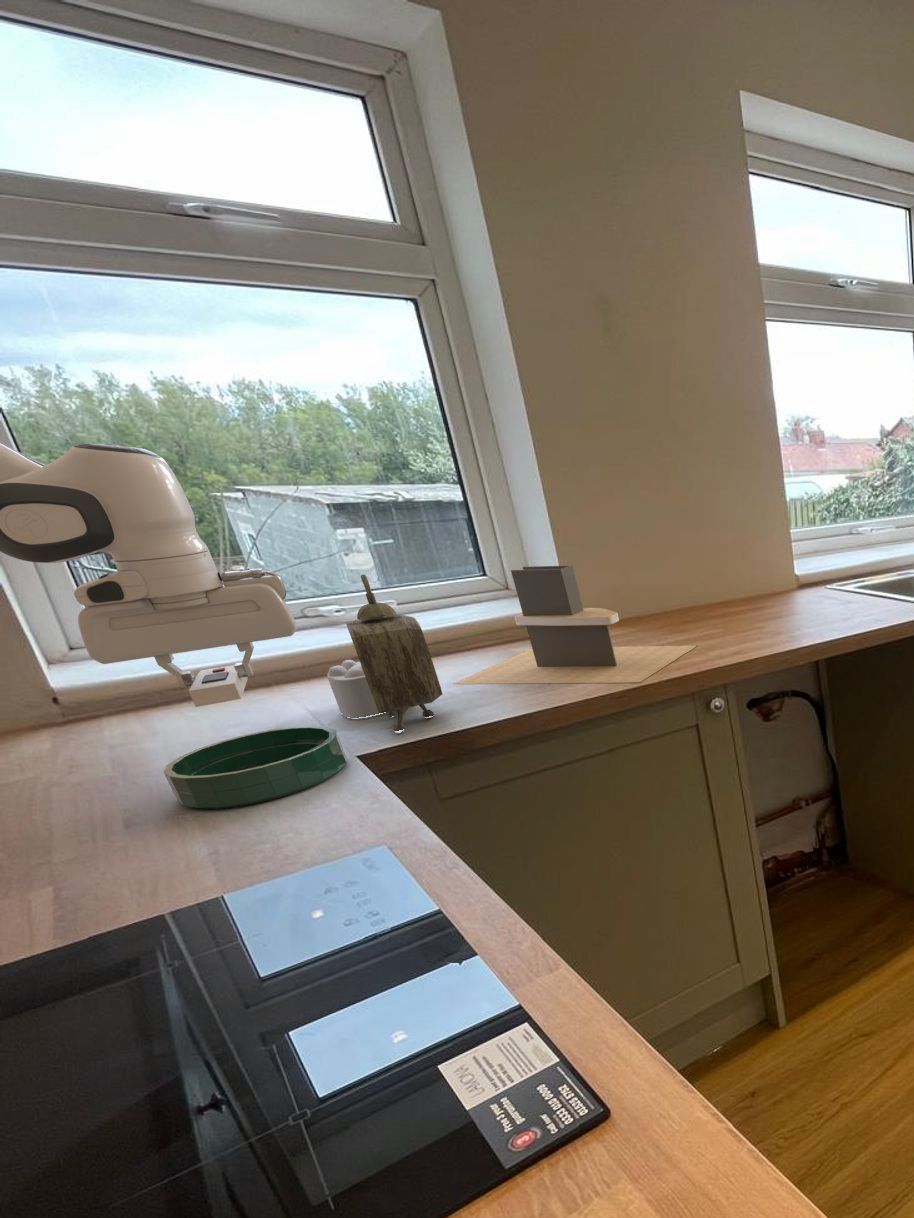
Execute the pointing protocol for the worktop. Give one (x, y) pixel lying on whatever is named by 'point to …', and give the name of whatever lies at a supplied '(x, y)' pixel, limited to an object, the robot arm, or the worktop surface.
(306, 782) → the bowl
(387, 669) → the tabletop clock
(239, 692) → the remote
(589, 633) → the architectural model
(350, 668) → the lumpy-topped squat cylinder
